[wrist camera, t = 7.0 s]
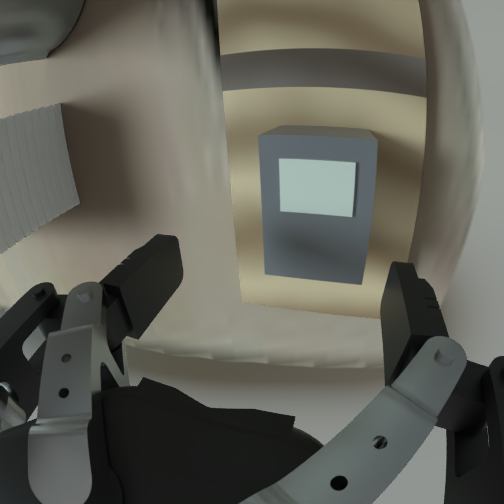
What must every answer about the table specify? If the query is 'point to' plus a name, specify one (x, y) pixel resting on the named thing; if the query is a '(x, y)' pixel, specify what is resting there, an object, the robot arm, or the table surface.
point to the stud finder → (317, 201)
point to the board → (325, 124)
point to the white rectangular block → (33, 173)
